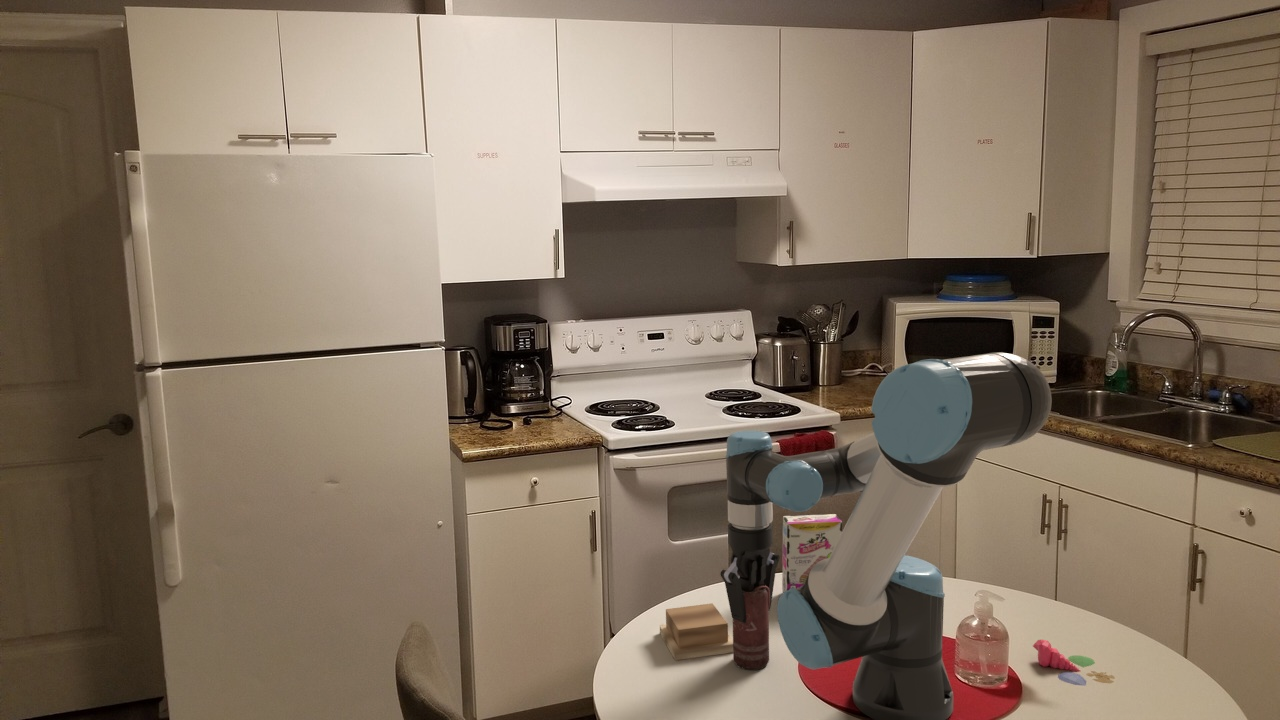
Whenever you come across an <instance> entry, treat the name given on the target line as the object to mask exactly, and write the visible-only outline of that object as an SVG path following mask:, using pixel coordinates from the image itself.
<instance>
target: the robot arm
mask: <svg viewBox="0 0 1280 720" xmlns="http://www.w3.org/2000/svg"><path fill="white" fill-rule="evenodd" d="M1052 401H1053V400H1052V391H1051V388H1050V385H1049V382H1048V380H1047V378H1046V376H1045V375H1044V373H1043V372H1042V371H1041V370H1040V369H1039V368H1038V366H1036V365H1035V364H1034V363H1033V362H1032V361H1030V360H1028V359H1025V358H1024V357H1022V356H1020V355H1016V354H1013V353H1007V352H1003V351H1001V352H989V353H988V352H987V353H983V354H975V355H970V356H968V355H967V356H961V357H953V358H947V359H946V358H945V359H939V358H929V359H921V360H918V361H915V362H913V363H909V364H904V365H901V366H900V367H897V368H894V370H892V371H890V372H889V373H888V374H887V375H886V376H885V377H884V378H883V379H882V381H881V382H880V384H879V385H878V387H877V388H876V391H875V394H874V396H873V400H872V403H871V414H874V419H872V420H871V427H872V431H873V432H871V433H869V434H867V435H864V436H862V437H861V438H860V437H859V438H858V439H856V440H854V441H852V442H850V443H847V444H845V445H843V446H840V447H836V448H829V449H826V450H819V451H812V452H806V453H801V454H795V455H783V454H780V453H777V452H775V451H773V449H774V447H773V442H772V437H771V436H770V434H769V433H767V432H765V431H761V430H760V431H759V430H740V431H736V432H733V433H731V434H730V435H729V436H727V439H726V455H725V463H726V465H725V467H726V493H727V521H728V525H727V543H728V545H729V547H730V549H731V551H732V553H731V557H730V566H728V568H727V570H726V569H722V570H721V571H720V577H721V579H722V580H723V581H724V585H725V589H726V590H725V592H726V595H727V601H728V604H729V610H730V615H731V619H732V620H733V619H735V620H738V621H740V622H743V623H745V622H746V620H747V618H746V609H745V604H744V599H743V594H742V590H743V591H745V592H752V591H754V589H755V588H754V587H756V588H757V587H759V586H764V584H766V586H767V587H768V588H769V589H770V605H769V611H770V610H771V606H772V601H773V600H772V599H773V592H774V585H775V578H776V572H777V567H778V565H779V561H780V555H779V554H777V553H773V552H771V547H772V546H773V544H774V542H773V540H774V538H773V536H774V535H773V534H774V530H773V529H774V528H773V525H772V523H773V520H774V511H773V504H774V505H776V506H777V507H779V508H781V509H785V510H787V511H788V510H789V511H792V512H795V513H796V512H797V513H803V512H807V511H809V510H810V509H811V508H812V507H814V506H815V505H816V504H818V503H819V501H820V500H822V499H827V498H832V497H834V496H835V497H837V496H841V495H846V494H853V493H858V492H860V495H859V498H858V500H857V501H856V504H855V505H854V507H853V509H852V511H851V514H850V516H849V518H848V520H847V522H846V524H845V525H844V527H843V528H842V533H841V535H840V537H839V539H838V541H837V543H836V545H835V547H834V549H833V551H832V553H831V555H830V557H829V558H827V559H824V560H821V561H819V562H818V563H817V564H815V565H814V567H813V568H812V569H811V571H810V573H809V575H808V577H807V579H806V581H805V583H804V585H803V586H801V587H800V588H796V589H795V588H790V589H789V590H788V591H785V592H783V591H782V593H781V594H780V596H779V597H778V601H777V607H776V608H777V609H776V611H777V612H776V613H777V614H776V615H777V622H778V626H779V630H780V633H781V636H782V639H783V641H784V643H785V645H786V647H787V649H788V650H789V653H790V654H791V655H792V657H793V658H794V659H795V660H796V661H797V662H798V664H800V666H803V667H804V668H805V667H806V669H810V670H818V669H823V668H827V669H829V668H832V667H833V666H837V665H839V664H843V663H846V662H849V661H853V660H856V659H859V658H861V661H860V663H859V664H858V667H857V671H856V674H855V676H854V679H853V682H852V700H853V703H854V705H855V707H856V708H857V709H858V710H859V711H860V712H861V713H862V714H864V715H865V716H867V717H869V718H870V719H873V720H948V719H949V717H951V715H952V714H953V712H954V692H953V689H952V686H951V682H950V679H949V677H948V673H947V670H946V667H945V664H944V661H943V638H944V637H943V634H944V600H945V597H946V596H945V593H944V579H943V574H942V572H941V571H940V569H939V568H938V567H936V566H935V564H932V563H931V562H928V561H926V560H924V559H921V558H918V557H916V556H911V555H906V553H907V551H908V550H909V548H910V546H911V544H912V543H913V541H914V540H915V538H916V536H917V534H918V532H919V531H920V529H921V527H922V525H923V524H924V522H925V520H926V518H927V516H928V515H929V513H930V511H932V508H933V506H934V504H935V502H936V501H937V500H938V498H939V496H940V494H941V492H942V490H943V488H948V487H951V486H955V485H957V484H959V483H960V482H961V481H962V480H964V478H965V477H966V475H967V473H968V471H969V470H970V468H971V467H972V465H973V463H974V461H975V460H976V458H977V457H978V455H980V453H981V452H983V451H987V450H993V449H997V448H1003V447H1008V446H1012V445H1016V444H1018V443H1022V442H1025V441H1027V440H1029V439H1030V438H1032V437H1033V436H1035V435H1036V434H1037V433H1038V432H1040V430H1041V429H1042V428H1043V427H1044V426H1045V424H1046V423H1047V420H1048V419H1049V416H1050V413H1051V411H1052V403H1053V402H1052Z"/></svg>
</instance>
